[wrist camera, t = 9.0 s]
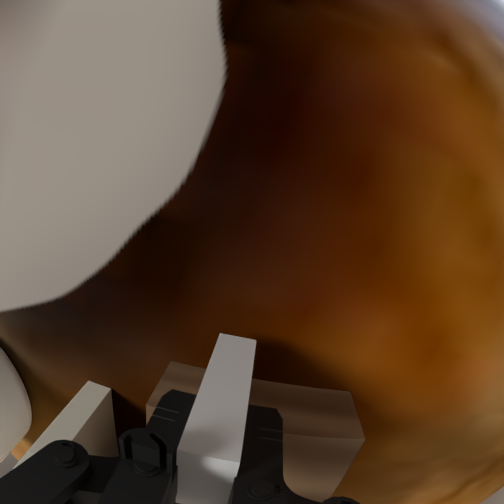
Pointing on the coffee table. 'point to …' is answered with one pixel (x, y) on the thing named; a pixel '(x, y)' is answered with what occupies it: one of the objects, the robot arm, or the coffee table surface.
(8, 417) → the cup
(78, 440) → the shelf
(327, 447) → the board
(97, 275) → the coffee table surface
